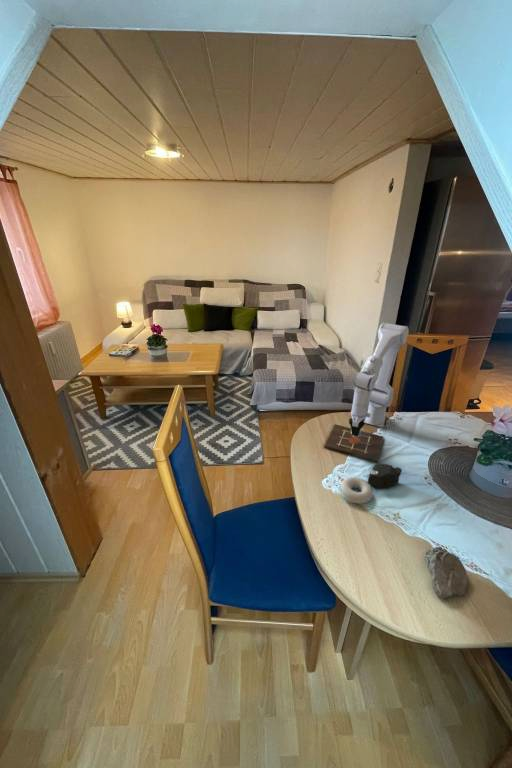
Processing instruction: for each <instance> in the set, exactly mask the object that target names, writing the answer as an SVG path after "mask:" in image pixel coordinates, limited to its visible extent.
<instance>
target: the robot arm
mask: <svg viewBox="0 0 512 768" xmlns="http://www.w3.org/2000/svg"><path fill="white" fill-rule="evenodd" d="M409 332H410V331H409V326H408V325H399V324H394V323H393V324H392V323H388V322H382V323H381V324H380V325H379V327H378V331H377V339H378V342H377V343H376V344H377V345H376V347H375V348H374V351H373V354H372V355H370V356H368V357H367V359H366V360H365V362H364V364H363V365H362V368H361V370H360V371H358V372H356V373H355V375H354V376H353V381H352V386H353V391H354V392H353V399H352V407H351V410H350V415H351V417H350V418H349V419H348V424H349V425H350V428H351V431H352V435H354V436H358V434H359V432H360V429H361V430H362V428H363V427H364V426H365V424H366V425H371V426H374V427H379V428H384V426H385V422H386V418H387V417H386V416H387V415H386V411H387V408H389V407H390V406H391V405H392V404H393V400H394V394H395V389H394V388H393V387H392V386H391V385H390V381H391V378H392V374H393V371H394V367H395V364H396V360H397V356H398V352H399V350H400V348H401V347H405V345H406V343H407V340H408V336H409Z"/></svg>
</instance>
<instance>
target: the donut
mask: <svg viewBox="0 0 512 768" xmlns="http://www.w3.org/2000/svg"><path fill="white" fill-rule="evenodd" d="M353 488H355V489H359V490H360V491H358V492H357V491H355V490H353ZM372 488H373V487H372V486H371V485H369V484H368V481H366V480H364V479H363V478H361V477H356V476H350V477H347V478H345V479H343V480H342V482H341V484H340V492H341V495H342V496H343V497H344V498H345V499H346V500H348V501H349V502H351V503H354V504H359V505H361V504H366V503H368V502H369V501H371V500H372V497H373V489H372Z"/></svg>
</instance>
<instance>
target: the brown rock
mask: <svg viewBox="0 0 512 768" xmlns="http://www.w3.org/2000/svg"><path fill="white" fill-rule="evenodd" d="M423 560H424V562H425V563H426V567H427V568H428V570H429V571H430V574H431V577H432V578H431V580H432V582H433V585H432V589H433V591H434V592H435V593H436V594H437V596H439V598H440V599H446V598H448V597H460V596H461V597H462V596H463V595H464V594H465V593H466V591H467V589H468V585H469V579H468V574H467V571H466V568H465V566H464V564H463V562H462V561H461V559H460V558H459V557H458V556H457V555H456V554H454V553H451V552H449V551H448V550H446V549H444V548H443V547H440V546H435V547H431V548H429V549H427V550H426V551H425V554H424V556H423Z"/></svg>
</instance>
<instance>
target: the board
mask: <svg viewBox="0 0 512 768" xmlns="http://www.w3.org/2000/svg"><path fill="white" fill-rule="evenodd" d="M361 431H362V432H361V437H353V435H352V434H351V427H347V426H345V425H344V426H343V425H339V424H336V423H335V424H334V425H333V427H332V430H331V432H330V434H329V436H328V437H327V440H326V442H325V444H324V448H325V449H328V450H332V451H335V452H339V453H342V454H346V455H348V456H352V457H355V458H359V459H362V460H366V461H369V462H373V463H376V464H379V463H378V462H379V458H380V453H381V450H382V445H383V440H384V436H382V435H379V434H375V433H371V432H367V431H363V430H361Z"/></svg>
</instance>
